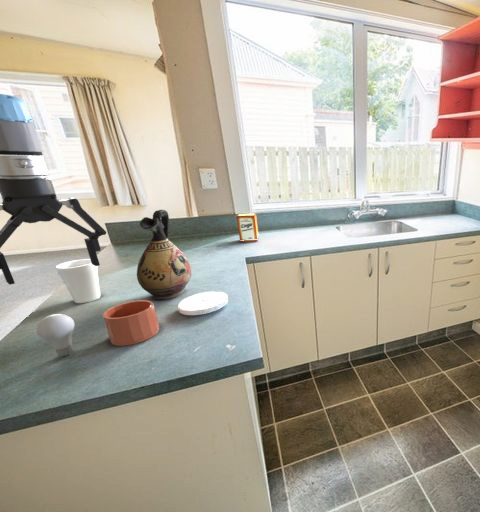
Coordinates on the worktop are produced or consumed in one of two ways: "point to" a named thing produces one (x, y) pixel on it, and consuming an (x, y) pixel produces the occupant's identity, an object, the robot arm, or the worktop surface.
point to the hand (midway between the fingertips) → (56, 273)
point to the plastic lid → (202, 303)
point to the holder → (131, 322)
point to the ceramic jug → (162, 261)
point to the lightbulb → (57, 332)
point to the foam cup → (80, 279)
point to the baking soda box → (247, 227)
